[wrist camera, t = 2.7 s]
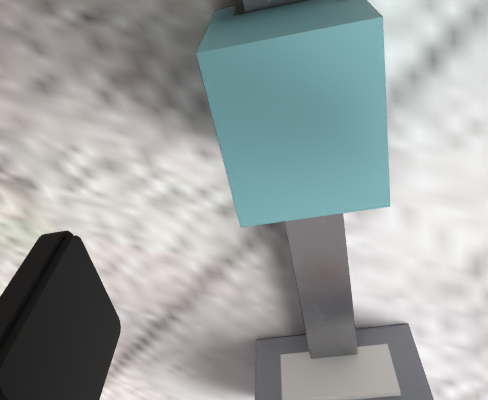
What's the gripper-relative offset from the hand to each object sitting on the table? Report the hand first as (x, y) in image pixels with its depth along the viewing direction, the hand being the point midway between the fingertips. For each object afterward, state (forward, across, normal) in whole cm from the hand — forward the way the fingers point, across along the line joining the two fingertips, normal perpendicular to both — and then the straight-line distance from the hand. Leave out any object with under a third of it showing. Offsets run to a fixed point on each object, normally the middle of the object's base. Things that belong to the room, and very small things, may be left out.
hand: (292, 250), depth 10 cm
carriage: (+11, -1, -1) cm, 11 cm away
